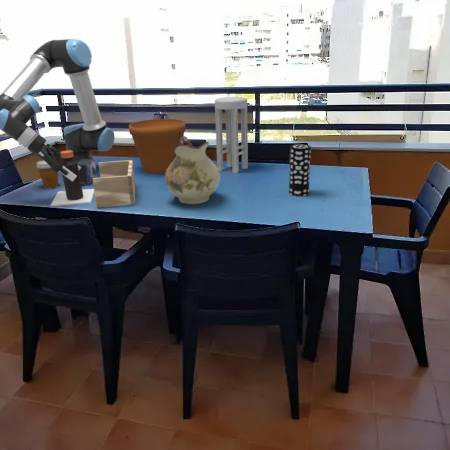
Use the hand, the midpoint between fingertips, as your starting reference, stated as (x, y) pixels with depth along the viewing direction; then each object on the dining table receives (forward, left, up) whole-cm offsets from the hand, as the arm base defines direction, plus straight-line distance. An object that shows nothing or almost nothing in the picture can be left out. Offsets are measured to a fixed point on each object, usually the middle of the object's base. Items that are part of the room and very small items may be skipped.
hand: (77, 174), depth 184 cm
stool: (-28, +72, -11) cm, 78 cm away
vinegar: (0, -2, -10) cm, 11 cm away
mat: (-2, -3, -11) cm, 11 cm away
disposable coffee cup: (-22, -16, -11) cm, 29 cm away
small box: (-24, 0, -11) cm, 26 cm away
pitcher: (+13, +47, -11) cm, 50 cm away
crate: (0, +15, -11) cm, 19 cm away
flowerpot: (-39, +36, -11) cm, 54 cm away
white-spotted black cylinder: (+17, +92, -11) cm, 94 cm away
